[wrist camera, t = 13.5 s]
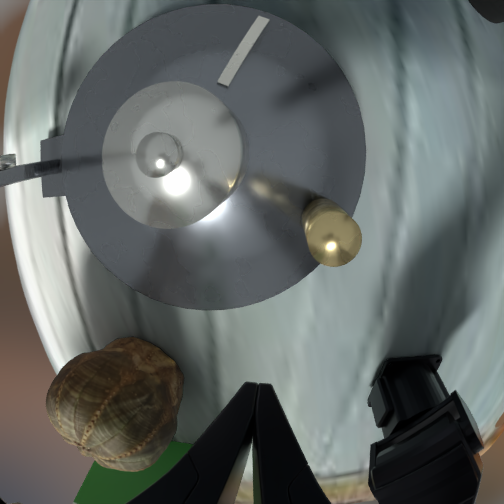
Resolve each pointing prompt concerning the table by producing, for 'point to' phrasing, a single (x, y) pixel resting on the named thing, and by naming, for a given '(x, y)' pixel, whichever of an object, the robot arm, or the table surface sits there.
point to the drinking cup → (490, 9)
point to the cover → (173, 154)
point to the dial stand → (37, 168)
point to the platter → (258, 169)
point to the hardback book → (126, 479)
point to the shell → (118, 403)
